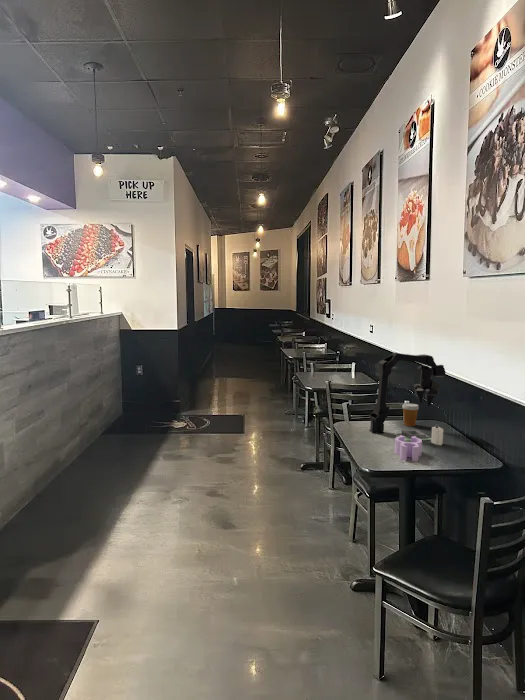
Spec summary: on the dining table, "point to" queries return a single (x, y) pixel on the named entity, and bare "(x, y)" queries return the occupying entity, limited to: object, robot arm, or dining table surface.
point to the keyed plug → (437, 435)
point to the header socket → (413, 434)
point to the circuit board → (410, 439)
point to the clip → (408, 448)
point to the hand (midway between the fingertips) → (424, 404)
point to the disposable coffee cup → (410, 414)
